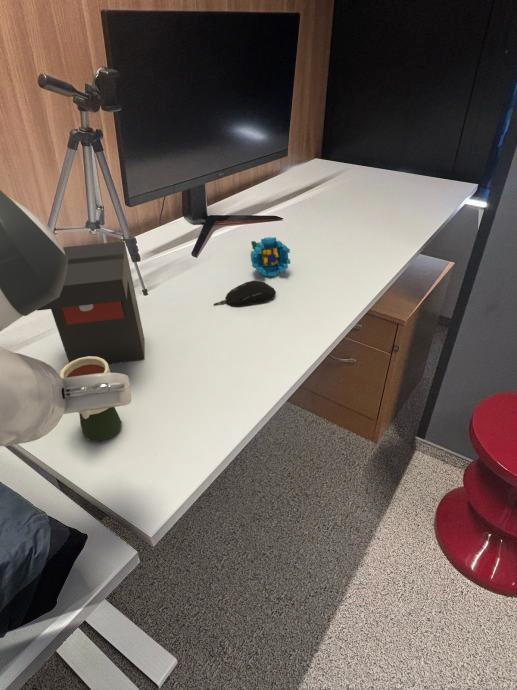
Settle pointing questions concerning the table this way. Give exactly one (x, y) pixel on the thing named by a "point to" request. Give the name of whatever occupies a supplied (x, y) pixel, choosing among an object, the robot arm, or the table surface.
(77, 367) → the character mug
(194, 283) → the table surface
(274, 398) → the table surface
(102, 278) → the dark brown box
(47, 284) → the robot arm
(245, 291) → the gaming mouse
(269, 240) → the toy flower
